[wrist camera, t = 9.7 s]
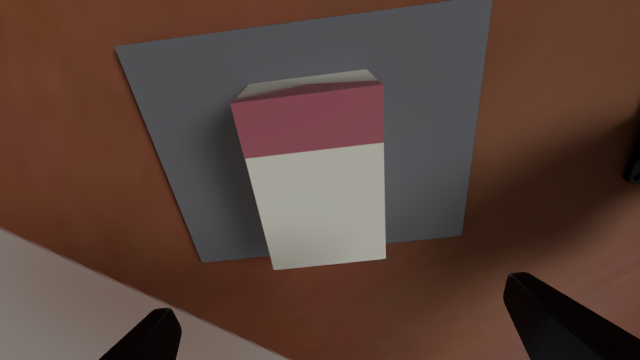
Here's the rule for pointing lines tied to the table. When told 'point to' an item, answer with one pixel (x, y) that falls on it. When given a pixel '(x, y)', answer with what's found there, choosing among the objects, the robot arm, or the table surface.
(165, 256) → the table surface
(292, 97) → the card box
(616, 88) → the table surface
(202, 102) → the mat
